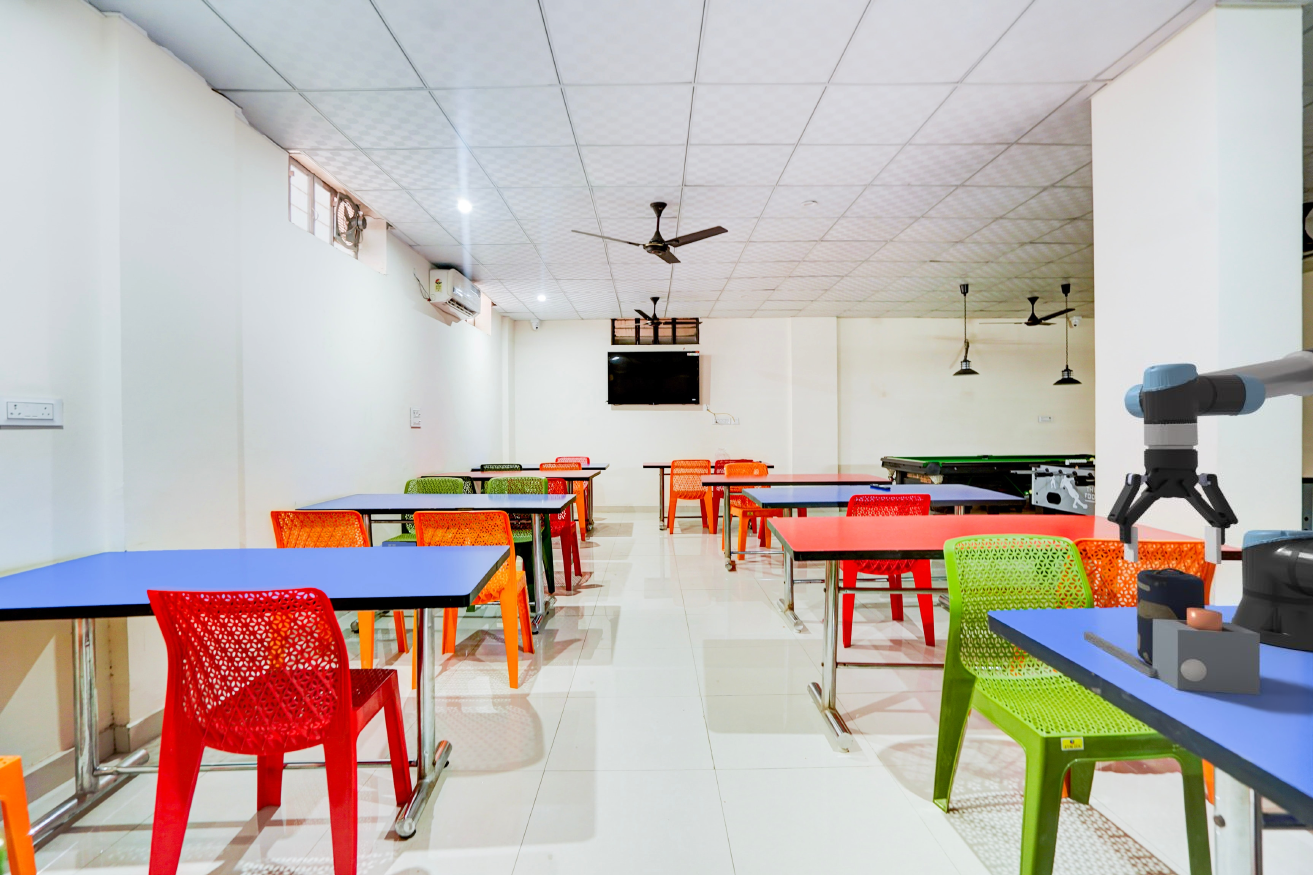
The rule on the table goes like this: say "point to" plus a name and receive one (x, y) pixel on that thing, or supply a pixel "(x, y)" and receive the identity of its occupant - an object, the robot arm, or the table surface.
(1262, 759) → the table surface
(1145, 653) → the canister
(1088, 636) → the rail track
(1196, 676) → the end cabinet
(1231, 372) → the robot arm
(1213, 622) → the button
